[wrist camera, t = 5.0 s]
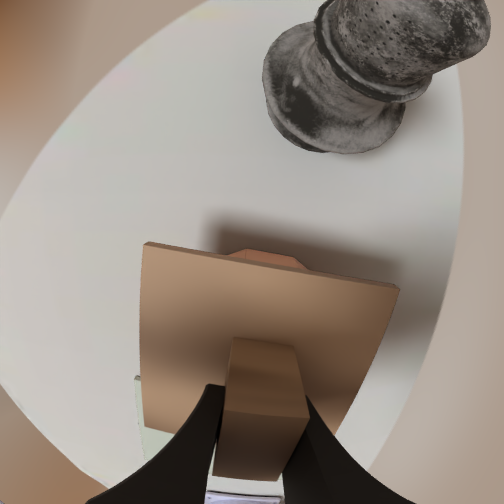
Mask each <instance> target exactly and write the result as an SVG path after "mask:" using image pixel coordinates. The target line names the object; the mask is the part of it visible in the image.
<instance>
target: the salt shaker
mask: <svg viewBox="0 0 504 504" xmlns="http://www.w3.org/2000/svg"><path fill="white" fill-rule="evenodd" d="M490 29H491V21H490V15H489V12H488V9H487V6H486V4H485V1H484V0H327V1H326V2H325V3H324V4H322V5H321V6H320V7H319V10H318V12H317V14H316V16H315V19H314V21H311V22H307V23H303V24H299V25H296V26H294V27H292V28H291V29H289V30H287V31H285V32H283V33H282V34H281V35H280V36H279V37H278V38H277V39H276V40H275V41H274V42H273V44H272V45H271V46H270V48H269V50H268V53H267V55H266V57H265V59H264V65H263V74H262V81H263V86H264V91H265V96H266V103H267V108H268V114H269V116H270V118H271V120H272V122H273V124H274V126H275V127H276V128H277V129H278V131H279V132H280V133H281V134H282V135H283V137H285V138H286V139H287V140H289V141H290V142H292V143H293V144H294V145H296V146H298V147H301V148H303V149H306V150H308V151H314V152H320V153H325V152H335V153H340V154H351V153H363V152H366V151H368V150H371V149H373V148H376V147H379V146H380V145H382V144H383V143H384V142H385V141H387V140H388V139H389V138H390V137H392V136H393V134H394V133H395V131H396V130H397V128H398V127H399V125H400V124H401V121H402V118H403V114H404V111H405V102H407V101H411V100H414V99H416V98H417V97H419V96H420V95H421V94H423V93H424V92H425V91H426V89H427V88H428V86H429V84H430V83H431V80H432V76H433V74H435V73H437V72H439V71H441V70H443V69H446V68H448V67H450V66H452V65H455V64H457V63H459V62H461V61H464V60H466V59H468V58H471V57H473V56H474V55H476V54H477V53H478V52H480V51H481V50H482V49H483V48H484V47H485V46H486V45H487V42H488V40H489V37H490Z"/></svg>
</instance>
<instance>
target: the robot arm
mask: <svg viewBox="0 0 504 504" xmlns="http://www.w3.org/2000/svg"><path fill="white" fill-rule="evenodd" d="M224 397H225V386H221V385H215V384H210V383H209V384H207V385H206V386H205V389H204V391H203V394H202V396H201V398H200V400H199V401H198V403H197V405H196V406H195V408H194V410H193V411H192V413H191V414H190V416H189V417H188V418H187V420H186V421H185V423H184V424H183V425H182V427H181V428H180V429H179V430H178V431H177V433H176V434H175V435H174V436H173V438H172V439H171V440H170V441H169V442H168V443H167V444H166V445H165V446H164V447H163V448H162V449H161V450H160V451H159V452H158V453H157V454H156V455H155V456H154V457H153V458H152V459H151V460H149V461H148V462H147V463H146V464H145V465H144V466H142V467H141V468H140V469H139V470H137V471H136V472H135V473H133V474H132V475H130V476H129V477H128V478H126V479H125V480H123V481H122V482H120V483H119V484H117V485H116V486H114V487H112V488H110V489H109V490H107V491H105V492H103V493H101V494H99V495H97V496H95V497H93V498H91V499H89V500H88V501H87V502H86V503H85V504H279V502H280V498H278V497H253V496H240V495H230V494H221V493H214V492H206V486H207V478H208V473H209V469H210V465H211V461H212V457H213V453H214V449H215V445H216V440H217V435H218V430H219V425H220V419H221V414H222V409H223V404H224ZM305 398H306V402H307V406H308V411H309V415H310V419H309V421H308V423H307V425H306V427H305V429H304V431H303V434H302V436H301V438H300V439H299V441H298V443H297V445H296V447H295V449H294V451H293V453H292V455H291V457H290V459H289V460H288V462H287V464H286V466H285V468H284V469H283V471H282V479H283V487H284V495H285V504H415V503H413V502H411V501H409V500H407V499H405V498H403V497H402V496H400V495H398V494H397V493H395V492H393V491H392V490H390V489H389V488H387V487H386V486H385V485H383V484H382V483H381V482H379V481H378V480H376V479H375V478H374V477H373V476H371V475H370V474H369V473H368V472H367V471H366V470H365V469H363V468H362V467H361V466H360V465H359V464H358V463H357V462H356V461H355V460H354V459H353V458H352V457H351V456H350V454H349V453H348V452H347V451H346V450H345V449H344V447H343V446H342V445H341V444H340V443H339V441H338V440H337V439H336V438H335V436H334V435H333V433H332V432H331V431H330V429H329V428H328V427H327V425H326V424H325V422H324V421H323V419H322V418H321V416H320V415H319V413H318V412H317V410H316V409H315V407H314V406H313V404H312V402H311V401H310V399H309V398H308V396H307V395H305ZM0 504H4V503H3V502H2V501H0Z"/></svg>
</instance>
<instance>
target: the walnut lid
mask: <svg viewBox="0 0 504 504" xmlns="http://www.w3.org/2000/svg"><path fill="white" fill-rule="evenodd" d="M399 291H400V289H399V288H398V287H397V286H395V285H394V284H389V283H383V282H377V281H371V280H365V279H359V278H353V277H347V276H341V275H335V274H329V273H324V272H318V271H312V270H306V269H300V268H295V267H289V266H283V265H277V264H272V263H266V262H260V261H255V260H249V259H243V258H238V257H232V256H226V255H221V254H215V253H210V252H204V251H199V250H193V249H188V248H182V247H177V246H171V245H166V244H160V243H155V242H147V243H145V244H144V245H143V254H142V268H141V287H140V375H141V393H142V406H143V418H144V427H148V428H151V429H155V430H159V431H163V432H167V433H171V434H176V433H177V431H178V430H179V429H180V428H181V427H182V425H183V424H184V423H185V421H186V420H187V418H188V417H189V416H190V414H191V413H192V411H193V410H194V408H195V406H196V405H197V403H198V401H199V400H200V398H201V396H202V394H203V391H204V389H205V386H206V385H207V384H209V383H210V384H215V385H221V386H225V397H224V404H223V409H222V414H221V419H220V425H219V430H218V435H217V440H216V446H215V454H214V462H213V470H212V476H218V477H226V478H234V479H244V480H257V481H277V480H278V478H279V477H280V475H281V473H282V471H283V469H284V468H285V466H286V464H287V462H288V460H289V459H290V457H291V455H292V453H293V451H294V449H295V447H296V445H297V443H298V441H299V439H300V438H301V436H302V434H303V431H304V429H305V427H306V425H307V423H308V421H309V419H310V415H309V411H308V406H307V402H306V398H305V395H307V396H308V398H309V399H310V401H311V402H312V404H313V406H314V407H315V409H316V410H317V412H318V413H319V415H320V416H321V418H322V419H323V421H324V422H325V424H326V425H327V427H328V428H329V429H330V431H331V432H332V433H333V435H335V433H336V431H337V430H338V428H339V426H340V424H341V423H342V421H343V419H344V417H345V416H346V414H347V412H348V410H349V408H350V406H351V404H352V402H353V401H354V399H355V397H356V395H357V393H358V391H359V389H360V387H361V385H362V383H363V381H364V378H365V376H366V374H367V372H368V370H369V368H370V366H371V363H372V361H373V359H374V357H375V354H376V352H377V350H378V347H379V345H380V342H381V340H382V338H383V335H384V333H385V330H386V327H387V325H388V322H389V320H390V317H391V314H392V311H393V309H394V306H395V303H396V300H397V297H398V294H399Z"/></svg>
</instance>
